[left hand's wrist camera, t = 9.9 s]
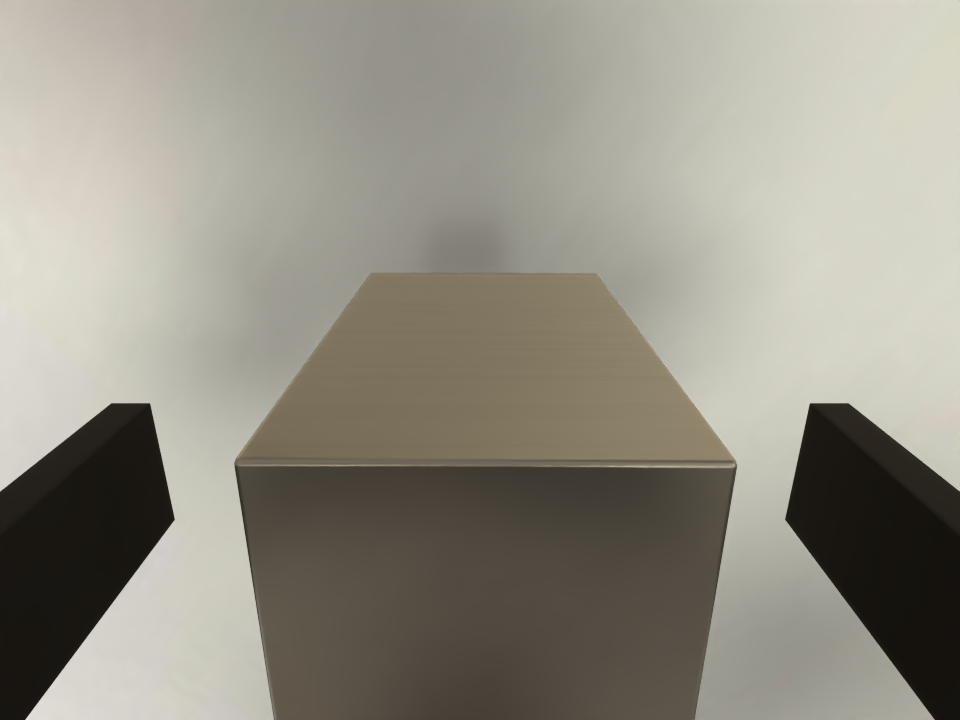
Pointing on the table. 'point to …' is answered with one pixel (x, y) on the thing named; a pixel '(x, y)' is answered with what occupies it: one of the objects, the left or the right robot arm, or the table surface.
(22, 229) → the table surface
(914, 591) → the left robot arm
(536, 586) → the bar
